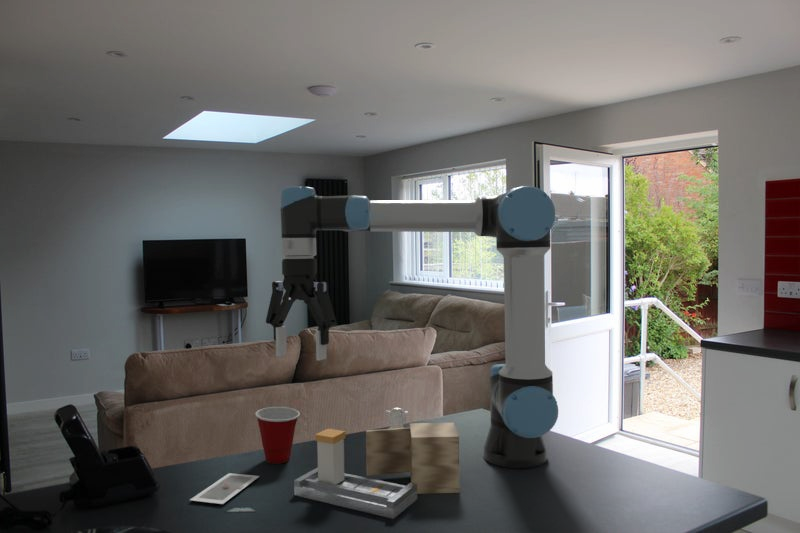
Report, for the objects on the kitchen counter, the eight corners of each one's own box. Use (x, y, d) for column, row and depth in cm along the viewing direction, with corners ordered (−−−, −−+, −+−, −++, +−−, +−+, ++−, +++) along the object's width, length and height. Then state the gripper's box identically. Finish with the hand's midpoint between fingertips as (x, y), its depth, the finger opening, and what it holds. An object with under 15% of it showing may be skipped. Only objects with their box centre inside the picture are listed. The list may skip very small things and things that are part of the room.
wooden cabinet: (454, 474, 137) (453, 422, 136) (459, 492, 126) (459, 436, 126) (367, 475, 136) (366, 423, 136) (365, 494, 126) (364, 438, 125)
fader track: (294, 495, 126) (294, 480, 126) (322, 478, 135) (322, 464, 135) (393, 518, 115) (393, 502, 114) (417, 499, 123) (417, 483, 123)
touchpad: (189, 505, 123) (189, 494, 123) (229, 477, 137) (228, 468, 137) (223, 509, 121) (222, 498, 121) (259, 480, 135) (259, 471, 135)
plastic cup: (291, 469, 141) (290, 418, 140) (248, 466, 143) (247, 416, 143) (307, 453, 152) (306, 406, 151) (267, 451, 154) (266, 404, 153)
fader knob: (316, 483, 127) (315, 434, 126) (328, 475, 131) (327, 428, 130) (333, 486, 124) (333, 437, 124) (346, 479, 128) (345, 431, 128)
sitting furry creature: (381, 464, 144) (380, 414, 143) (374, 452, 152) (373, 405, 152) (419, 460, 146) (418, 411, 145) (410, 448, 154) (409, 402, 154)
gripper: (247, 258, 134) (250, 356, 135) (332, 257, 123) (333, 364, 124) (270, 257, 140) (272, 350, 141) (352, 257, 129) (353, 358, 130)
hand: (301, 357), depth 132 cm, fingers open, 10 cm apart
